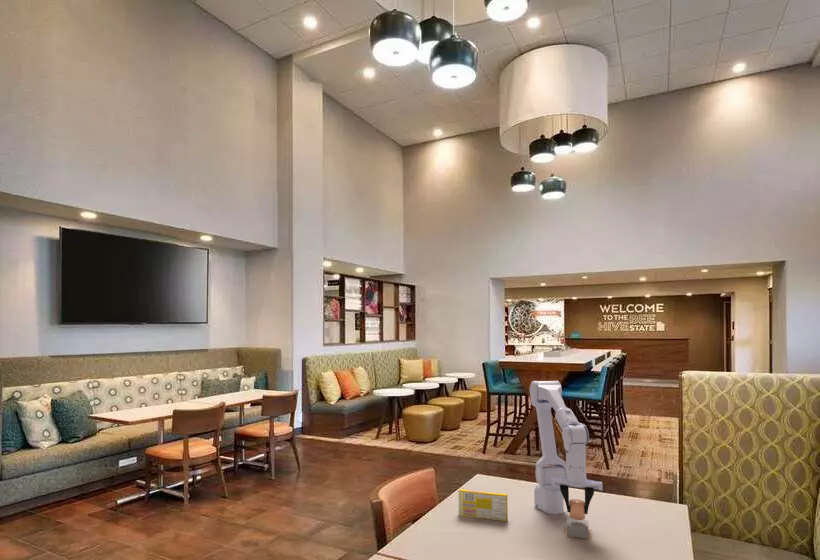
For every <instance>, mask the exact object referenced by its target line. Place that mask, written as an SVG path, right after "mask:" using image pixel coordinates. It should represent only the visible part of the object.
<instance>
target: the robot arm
mask: <svg viewBox="0 0 820 560" xmlns="http://www.w3.org/2000/svg"><path fill="white" fill-rule="evenodd" d="M562 395H563V389H562V384H561V382H560V381H559V380H532V381H531V383H530V385H529V398H530V402H531V406H533V407H534V408H535V410H536V416H537V424H538V430H539V431H538V432H539V439H540V447H541V454H542V456H541V457H540V458H539V459H538V460H537V461H536V463H535V479H536V482H537V484H536V485H535V487H534V493H533V496H534V497H533V498H534V508H536V509H539V510H541V511H542V512H544V513H546V514H550V515H560V514H563V513H564V512H565V506H566V512H567V513H570V507H569V500H570V498H569V497H570V496H569V495H570V492H569V491H570V490H569V487H570V488H578V489H579V488H580V489H584V502H585V515H588V513H589V507H590V503H591V501H592V499H593V496H594V494H595V491H594V490H598V491H603V482H602V481H598V480H597V481H596V480H592V479H587V457H586V456H587V455H586V454H587V453H586V449H587V447H586V445H588V443H589V440H590V435H589V434H590V433H589V430H588V428H587V425H585V423H582V422H579V421H578V418H577V416H576V415H575V414H574V411H572V409H571V408H569V407H567V406H566V404H565V401H564V399H563V396H562ZM552 408H553V410H554V411H555V420H556V422H557V423H558V425H559V427H560V430H561V438H562V442H563V447H564V450H565V460H564V459H562V458H561V457H560V456H558V452H557V444H556V437H555V430H554V425H553V423H554V422H553V419H552V418H553V416H552ZM565 461H566V462H565ZM564 502H565V503H564ZM564 505H565V506H564Z"/></svg>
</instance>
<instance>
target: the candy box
mask: <svg viewBox="0 0 820 560" xmlns="http://www.w3.org/2000/svg"><path fill="white" fill-rule="evenodd" d="M460 515H461V516H462V517H467V516H469V517H468V518H475V517H479V518H478V519H483V518H486V519H485V520H490V519H495V520H494V521H498V520H501V521H500V522H506V521H507V522H508V520H509V517H508V516H509V515H508V494H507V493H500V492H493V491H492V492H490V491H489V492H488V491H482V490H481V491H480V490H471V489H462V488H460V489H458V516H460Z"/></svg>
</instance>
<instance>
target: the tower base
mask: <svg viewBox="0 0 820 560" xmlns="http://www.w3.org/2000/svg"><path fill="white" fill-rule="evenodd" d="M588 529H589V528H588ZM563 536H564V537H563V538H566V539H567V538H568V539H577V540H584V541H585V540H586V541H594V539H593V533H592V529H589V539H585V538H578V537H571V536H567V526H563Z"/></svg>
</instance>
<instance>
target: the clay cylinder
mask: <svg viewBox="0 0 820 560" xmlns="http://www.w3.org/2000/svg"><path fill="white" fill-rule="evenodd" d="M569 507H570V512H569V518H571V519H575V520H586V514H585V500H581V499H578V498H574V499H573V498H571V499H569Z"/></svg>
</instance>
